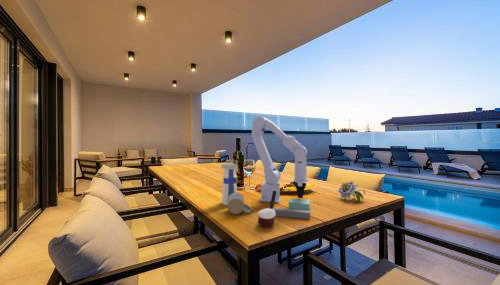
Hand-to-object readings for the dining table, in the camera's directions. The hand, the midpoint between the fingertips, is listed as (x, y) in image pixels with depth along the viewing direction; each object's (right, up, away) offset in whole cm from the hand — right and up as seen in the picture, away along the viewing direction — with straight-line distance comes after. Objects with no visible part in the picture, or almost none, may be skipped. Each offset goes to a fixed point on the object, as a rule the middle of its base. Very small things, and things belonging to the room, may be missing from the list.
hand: (300, 197), depth 110 cm
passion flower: (+29, -3, +9) cm, 30 cm away
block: (-2, -3, -9) cm, 10 cm away
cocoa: (-19, -4, -28) cm, 34 cm away
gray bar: (-8, -3, -18) cm, 20 cm away
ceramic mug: (-30, -3, -13) cm, 33 cm away
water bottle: (-35, -3, 0) cm, 35 cm away
